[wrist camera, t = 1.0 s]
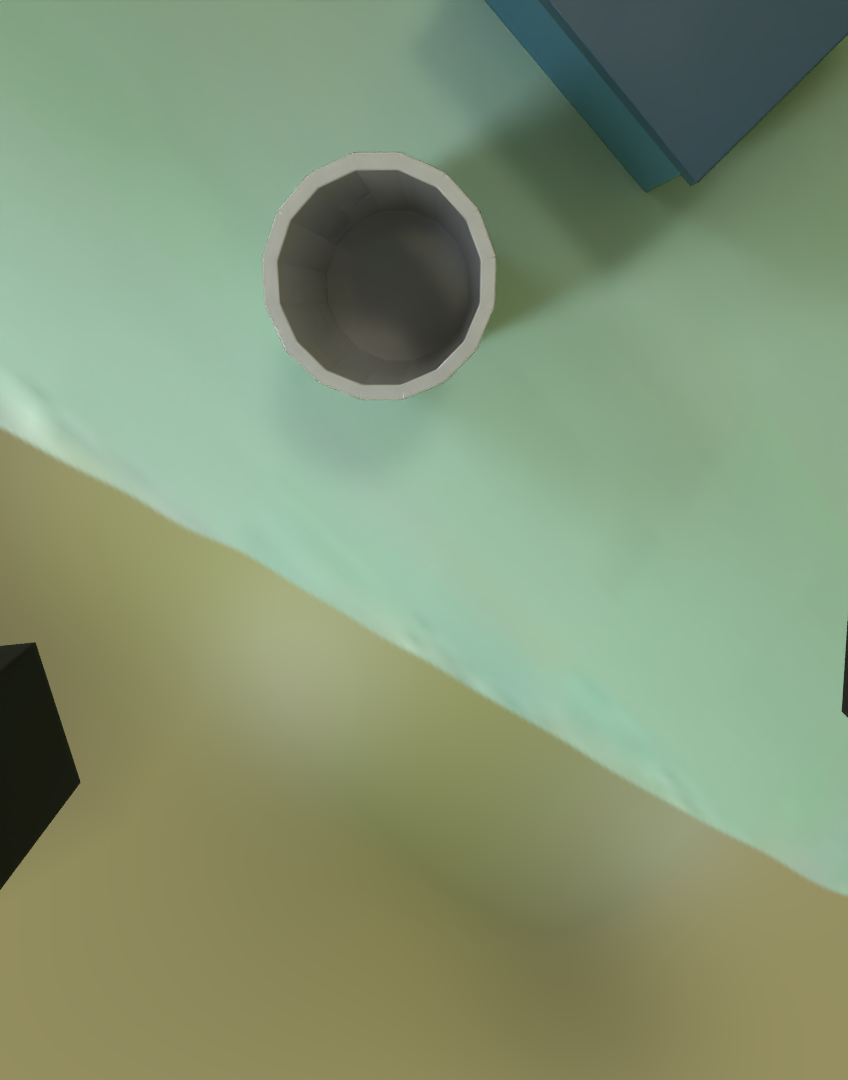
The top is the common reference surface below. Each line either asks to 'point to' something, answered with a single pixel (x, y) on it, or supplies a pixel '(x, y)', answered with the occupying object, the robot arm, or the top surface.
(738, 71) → the container
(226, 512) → the top surface
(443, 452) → the top surface
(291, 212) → the cup
